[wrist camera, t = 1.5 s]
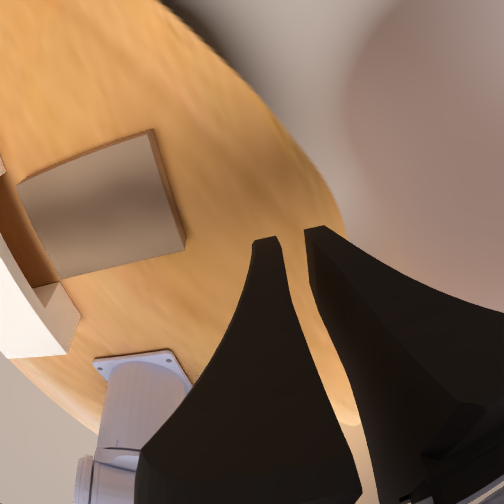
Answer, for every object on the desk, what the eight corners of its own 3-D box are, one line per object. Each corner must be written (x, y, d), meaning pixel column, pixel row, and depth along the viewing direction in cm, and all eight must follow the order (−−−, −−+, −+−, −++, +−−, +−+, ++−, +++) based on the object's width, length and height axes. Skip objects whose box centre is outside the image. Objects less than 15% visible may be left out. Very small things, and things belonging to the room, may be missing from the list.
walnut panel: (186, 233, 20) (184, 250, 18) (70, 262, 20) (61, 279, 18) (154, 127, 16) (147, 134, 14) (30, 174, 16) (14, 186, 14)
